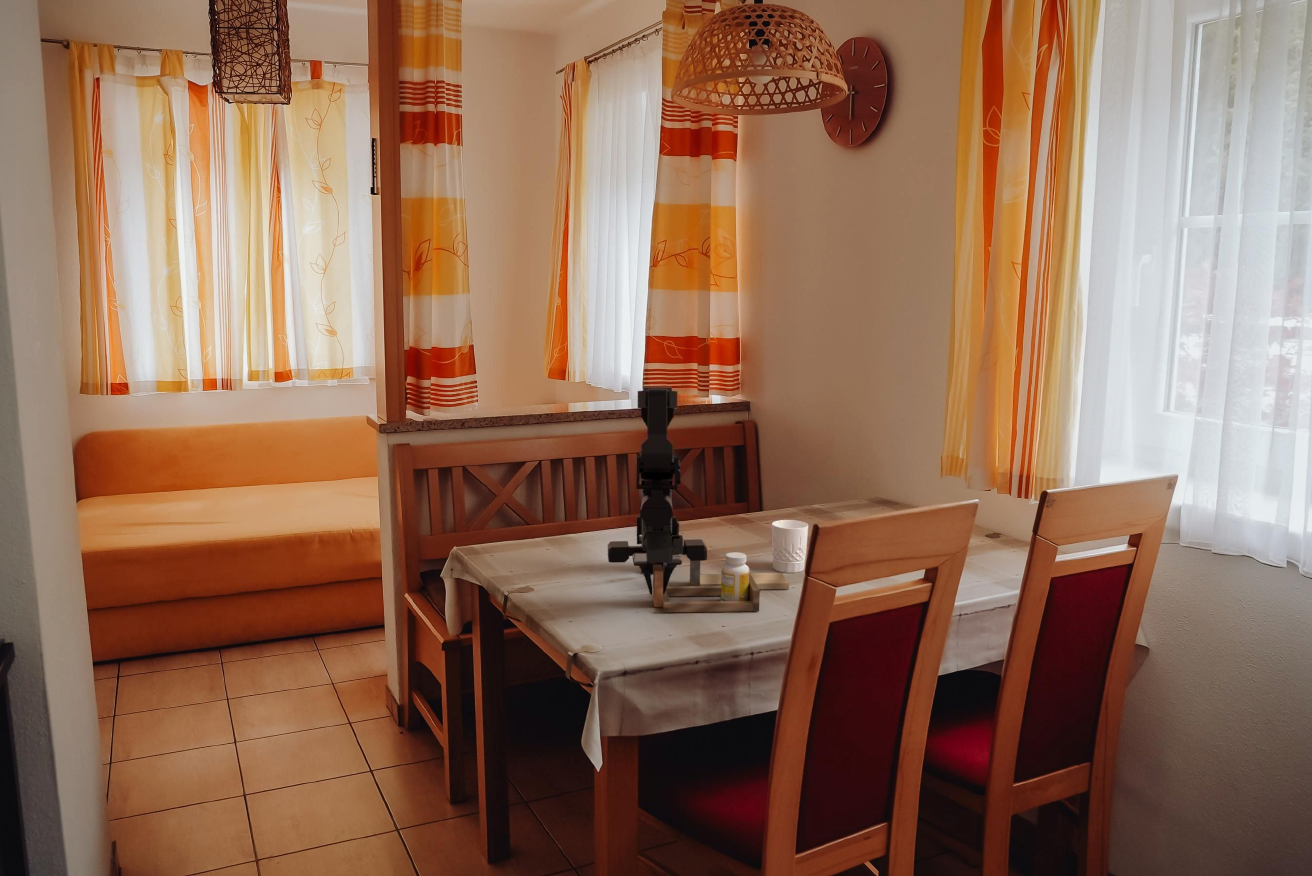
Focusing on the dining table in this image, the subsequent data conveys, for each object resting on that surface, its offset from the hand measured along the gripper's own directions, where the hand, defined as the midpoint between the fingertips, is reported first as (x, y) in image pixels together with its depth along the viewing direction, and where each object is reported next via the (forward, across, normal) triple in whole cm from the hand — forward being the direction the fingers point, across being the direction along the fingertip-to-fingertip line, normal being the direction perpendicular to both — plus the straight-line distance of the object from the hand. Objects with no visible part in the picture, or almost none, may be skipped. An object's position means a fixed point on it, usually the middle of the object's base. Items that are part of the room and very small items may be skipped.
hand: (657, 594), depth 188 cm
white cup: (+3, +31, +23) cm, 38 cm away
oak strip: (+2, +18, +11) cm, 22 cm away
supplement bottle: (+2, +15, 0) cm, 15 cm away
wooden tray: (+2, +10, 0) cm, 10 cm away
